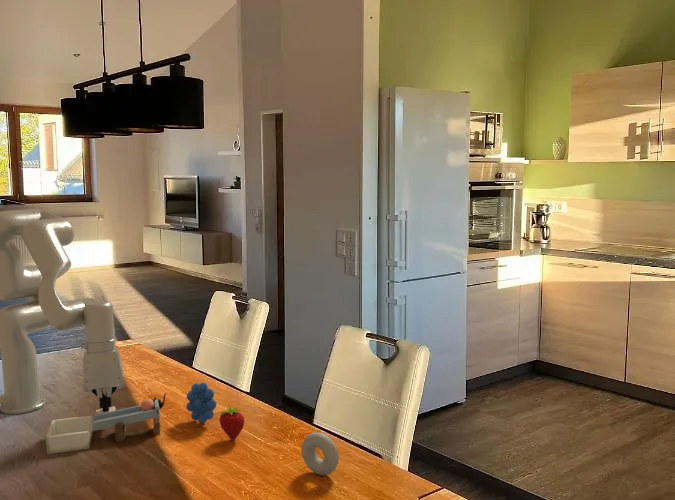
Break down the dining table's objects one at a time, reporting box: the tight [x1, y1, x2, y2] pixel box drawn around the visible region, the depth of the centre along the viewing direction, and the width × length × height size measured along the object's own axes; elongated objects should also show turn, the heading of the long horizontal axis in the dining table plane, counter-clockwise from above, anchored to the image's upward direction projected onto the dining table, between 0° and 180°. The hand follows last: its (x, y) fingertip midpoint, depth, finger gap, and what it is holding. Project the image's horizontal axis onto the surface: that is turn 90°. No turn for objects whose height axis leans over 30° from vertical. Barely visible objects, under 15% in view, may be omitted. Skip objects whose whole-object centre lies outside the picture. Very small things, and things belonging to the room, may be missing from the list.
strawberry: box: [218, 404, 245, 441], centre depth 170 cm, size 6×8×10 cm
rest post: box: [153, 417, 161, 436], centre depth 178 cm, size 2×5×3 cm, turn 16°
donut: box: [301, 431, 340, 476], centre depth 150 cm, size 10×4×10 cm, turn 54°
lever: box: [92, 398, 161, 432], centre depth 179 cm, size 17×13×4 cm
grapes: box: [186, 382, 217, 425], centre depth 183 cm, size 12×7×12 cm, turn 52°
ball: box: [140, 398, 154, 411], centre depth 177 cm, size 4×4×4 cm
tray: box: [45, 415, 94, 455], centre depth 172 cm, size 10×12×4 cm
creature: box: [147, 392, 168, 410], centre depth 193 cm, size 8×5×8 cm
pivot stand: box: [114, 423, 127, 443], centre depth 175 cm, size 2×7×5 cm, turn 16°
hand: (106, 409), depth 182 cm, fingers closed
